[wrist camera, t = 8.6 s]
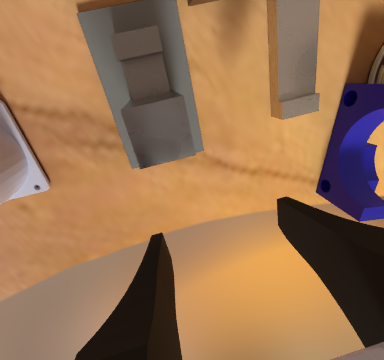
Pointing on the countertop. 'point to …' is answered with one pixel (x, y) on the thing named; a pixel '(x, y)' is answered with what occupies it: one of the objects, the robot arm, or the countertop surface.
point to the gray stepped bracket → (151, 100)
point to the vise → (198, 2)
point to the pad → (112, 69)
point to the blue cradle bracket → (354, 154)
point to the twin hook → (293, 56)
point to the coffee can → (377, 69)
